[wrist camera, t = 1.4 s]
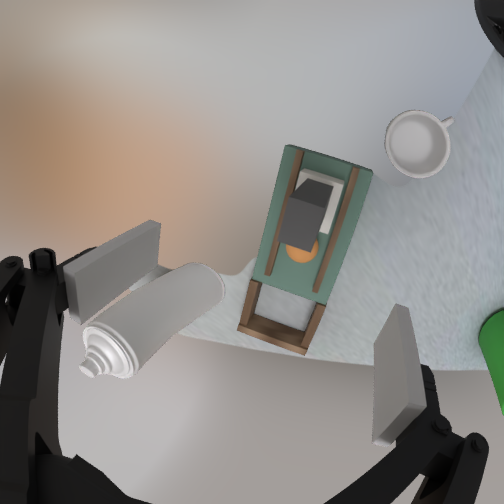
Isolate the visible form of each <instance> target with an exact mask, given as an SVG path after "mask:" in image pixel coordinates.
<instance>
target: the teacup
mask: <svg viewBox="0 0 504 504" xmlns="http://www.w3.org/2000/svg"><path fill="white" fill-rule="evenodd" d="M453 122H454V118H453V117H452V116H451V117H449V118H447V119H445V120H443V121H440V120H439V119H438V118H436V117H435V116H434V115H432V114H430V113H427V112H424V111H420V110H409V111H405V112H403V113H401V114H399V115H398V116H397V117H395V118H394V119H393V120H392V121H391V122H390V123H389V125H388V127H387V130H386V136H385V149H386V153H387V155H388V157H389V159H390V161H391V163H392V164H393V165H394V166H395V168H396V169H398V170H399V171H400V172H401V173H403V174H405V175H407V176H409V177H413V178H427V177H430V176H432V175H434V174H436V173H437V172H439V171H440V170H441V169H442V168H443V167H444V165H445V164H446V162H447V160H448V157H449V154H450V138H449V134H448V132H447V130H446V129H447V127H448V126H449V125H451V124H452V123H453Z"/></svg>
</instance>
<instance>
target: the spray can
mask: <svg viewBox="0 0 504 504" xmlns="http://www.w3.org/2000/svg"><path fill="white" fill-rule="evenodd" d="M224 296H225V286H224V283H223V281H222V279H221V277H220V276H219V275H218V274H217V273H216V272H215V271H214V270H213V269H212V268H210V267H208V266H206V265H204V264H201V263H188V264H186V265H184V266H182V267H179V268H177V269H175V270H172V271H170V272H168V273H166V274H164V275H162V276H160V277H159V278H157V279H155V280H153V281H151V282H149V283H147V284H145V285H143V286H142V287H140V288H138V289H136V290H134V291H133V292H131V293H130V294H128V295H127V296H126V297H124V298H123V299H121V300H120V301H118V302H117V303H115V304H114V305H113V306H111V307H110V308H108V309H107V310H106V311H104V312H103V313H101V314H100V315H99V316H98V317H96V318H95V319H94V320H93V321H91V322H90V323H89V324H88V326H87V327H86V328H85V329H84V331H83V342H84V345H85V347H86V357H85V361H84V362H83V363H82V364H81V365H80V366H79V368H80V370H81V371H82V372H83V373H84V374H86V375H87V376H89V377H92V378H94V377H95V376H96V375H97V374H99V375H101V374H111V375H113V376H115V377H117V378H121V379H128V378H130V377H131V376H132V375H135V374H136V373H137V372H138V371H139V370H140V369H141V368H142V366H143V365H144V364H145V363H146V362H147V361H148V360H149V359H150V358H151V357H152V356H153V355H154V354H155V353H156V352H157V351H158V350H159V349H160V348H161V347H162V346H163V345H164V344H165V343H166V342H167V341H168V340H169V339H170V338H171V337H172V336H173V335H175V334H176V333H177V332H179V331H180V330H182V329H183V328H185V327H186V326H187V325H189V324H190V323H192V322H193V321H194V320H196V319H197V318H199V317H200V316H201V315H203V314H204V313H206V312H207V311H209V310H210V309H212V308H214V307H215V306H217V305H219V304H220V303H221V302H222V300H223V299H224Z"/></svg>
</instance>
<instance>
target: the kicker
mask: <svg viewBox="0 0 504 504" xmlns="http://www.w3.org/2000/svg"><path fill="white" fill-rule="evenodd" d="M343 185H344V181H343V180H340V179H337V178H334V177H331V176H328V175H325V174H322V173H319V172H315V171H312V170H309V169H306V168H304V169H303V170H301V171H300V174H299V177H298V181H297V185H296V189H295V191H294V192H293V193H292V194H291V195H290V196H289V198H288V202H287V205H286V209H285V213H284V217H283V220H282V224H281V228H280V232H279V235H278V239H277V241H278V242H281V243H284V244H287V245H290V246H293V247H295V248H298V249H301V250H304V251H307V252H310V253H311V251H312V248H313V246H314V243H315V241H316V238H317V235H318V233H319V232H322V233H325V234H328V233H329V230H330V227H331V224H332V221H333V218H334V214H335V211H336V208H337V205H338V202H339V199H340V195H341V192H342V189H343Z"/></svg>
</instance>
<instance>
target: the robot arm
mask: <svg viewBox="0 0 504 504" xmlns="http://www.w3.org/2000/svg"><path fill="white" fill-rule="evenodd" d="M474 3H475V10H476V14H477V17H478V20H479V23H480V25H481V27H482V29H483V31H484V33H485V34H486V36H487V38H488V39H489V40H490V42H491V43H492V45H493V46H494V47H495V48H496V49H497V51H498V52H499V53H500V54H501V55H502V56H503V57H504V0H475V2H474ZM160 228H161V223H158V222H155V221H152V220H149V221H146V222H144V223H142V224H141V225H139V226H137V227H135V228H133V229H131V230H129V231H127V232H125V233H123V234H121V235H119V236H117V237H115V238H114V239H112V240H110V241H108V242H106V243H104V244H102V245H101V246H99V247H93V248H89V249H86V250H84V251H82V252H81V253H80V254H77V255H75V256H74V257H72V258H70V259H68V260H66V261H64V262H63V263H61V264H59V265H56V255H55V252H54V251H53V250H52V249H48V248H40V249H37V250H34V251H33V252H31V253H30V254H29V261H30V267H31V269H28V268H24V265H23V259H21V258H20V257H18V256H11V257H10V256H9V257H7V258H5V259H4V260H2V261H1V262H0V365H1V363H2V361H3V359H4V357H5V355H6V359H5V363H4V368H3V374H2V379H1V384H0V504H151V503H148V502H144V501H141V500H137V499H134V498H131V497H129V496H127V495H125V494H124V493H123V492H122V491H121V490H120V489H119V488H118V487H117V486H116V485H115V484H114V483H113V482H112V481H111V480H110V479H109V478H107V476H106V475H105V474H104V473H103V472H102V471H100V470H98V469H97V468H96V467H94V466H93V465H91V464H89V463H88V462H87V461H85V460H84V459H82V458H81V457H79V456H78V455H77V454H76V456H75V457H74V458H73V459H71V458H68V457H65V456H63V455H62V451H61V448H60V445H59V439H58V381H59V363H60V350H61V339H62V330H63V322H64V314H63V311H65V310H66V309H67V308H69V315H70V318H71V319H73V320H74V321H76V322H77V323H79V324H81V325H82V324H83V323H84V322H86V321H87V320H88V319H89V318H91V317H92V316H93V315H95V314H96V313H97V312H98V311H99V310H101V309H102V308H103V307H105V306H106V305H107V304H108V303H110V302H111V301H112V300H114V299H115V298H116V297H117V296H119V295H120V294H121V293H123V292H124V291H125V290H127V289H128V288H129V287H130V286H132V285H133V284H134V283H136V282H137V281H138V280H140V279H141V278H142V277H144V276H145V275H146V274H148V273H149V272H150V271H152V270H153V269H154V268H156V267H157V263H158V250H159V239H160ZM6 298H7V301H6V303H5V300H6ZM6 353H7V354H6ZM372 431H373V432H372V444H375V445H380V446H385V447H389V446H390V445H391V444H392V443H393V442H394V440H396V447H395V448H394V449H393V450H392V451H391V452H390V453H389V454H387V455H386V456H385V457H384V458H383V459H382V460H381V461H379V462H378V463H377V464H376V465H375V466H373V467H372V468H371V469H370V470H369V471H368V472H366V473H365V474H364V475H362V476H361V477H360V478H359V479H357V480H356V481H355V482H353V483H352V484H351V485H350V486H348V487H347V488H346V489H344V490H343V491H341V492H340V493H338V494H337V495H336V496H334V497H333V498H331V499H330V500H328V501H327V502H325V503H324V504H390V503H392V502H393V501H394V500H395V499H396V498H397V497H398V496H399V495H400V494H401V493H402V492H403V491H404V490H405V489H406V487H408V486H409V485H410V483H411V482H412V481H413V480H414V479H415V478H416V477H417V476H418V475H419V474H422V475H424V476H425V478H424V480H423V482H422V484H421V486H420V488H419V490H418V491H417V493H416V495H415V497H414V499H413V501H412V503H411V504H474V503H475V499H476V496H477V493H478V490H479V487H480V484H481V480H482V477H483V473H484V469H485V465H486V461H487V457H488V453H489V446H488V443H487V441H486V439H485V438H484V437H483V436H482V435H481V434H479V433H471V434H469V435H468V436H467V437H466V438H462V437H461V436H459V435H457V434H455V433H453V432H452V427H451V425H450V422H449V421H448V420H447V419H446V418H445V417H444V416H442V415H441V414H440V408H439V401H438V396H437V392H436V385H435V380H434V375H433V373H432V371H431V370H430V368H429V366H426V365H423V364H420V360H419V355H418V349H417V344H416V339H415V335H414V330H413V326H412V321H411V317H410V313H409V308H407V307H405V306H402V305H399V304H395V306H394V308H393V310H392V311H391V313H390V315H389V317H388V319H387V321H386V323H385V325H384V327H383V328H382V330H381V332H380V334H379V336H378V337H377V339H376V341H375V343H374V408H373V430H372Z"/></svg>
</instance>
